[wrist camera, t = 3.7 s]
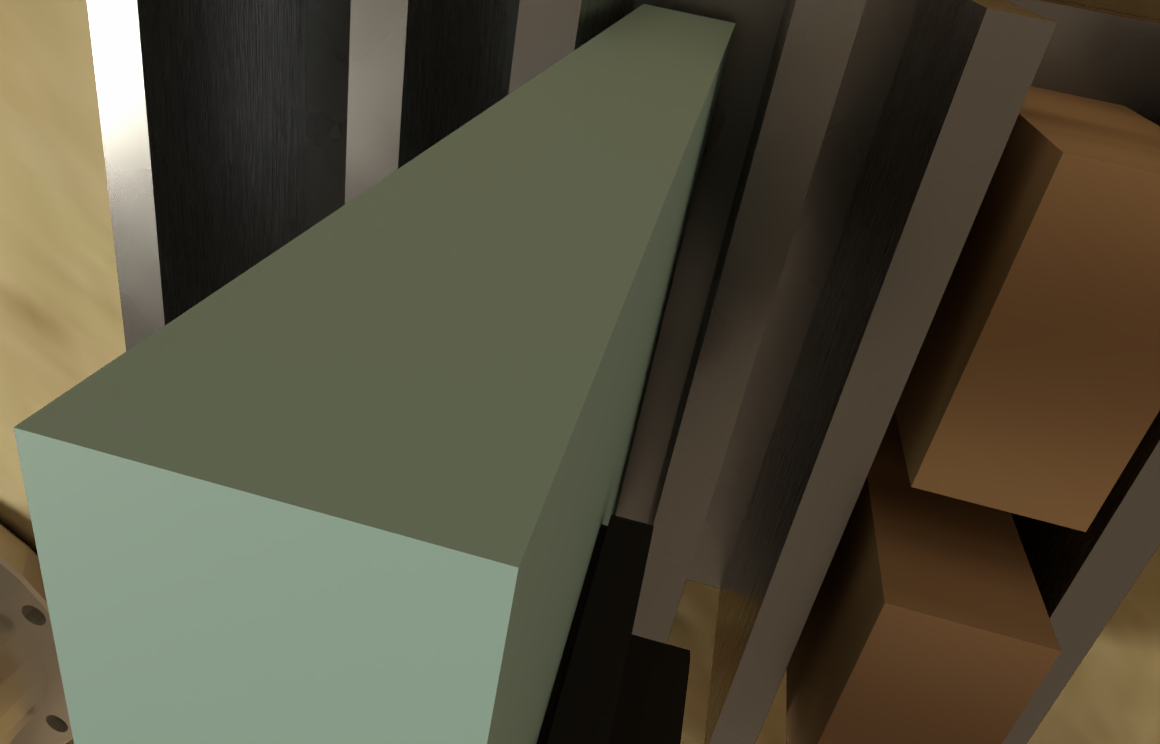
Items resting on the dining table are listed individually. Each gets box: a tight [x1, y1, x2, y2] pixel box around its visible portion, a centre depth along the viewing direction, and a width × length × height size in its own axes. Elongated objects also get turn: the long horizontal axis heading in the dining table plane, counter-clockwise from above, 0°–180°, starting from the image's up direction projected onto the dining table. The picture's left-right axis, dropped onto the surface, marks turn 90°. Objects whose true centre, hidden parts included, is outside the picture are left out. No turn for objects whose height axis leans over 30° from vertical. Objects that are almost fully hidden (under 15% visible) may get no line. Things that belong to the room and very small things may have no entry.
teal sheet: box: [14, 4, 736, 744], centre depth 12 cm, size 12×2×14 cm, turn 170°
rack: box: [87, 0, 1160, 744], centre depth 17 cm, size 14×20×6 cm
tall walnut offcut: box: [786, 410, 1061, 744], centre depth 16 cm, size 5×2×6 cm, turn 170°
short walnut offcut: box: [895, 86, 1160, 532], centre depth 14 cm, size 5×2×6 cm, turn 170°
